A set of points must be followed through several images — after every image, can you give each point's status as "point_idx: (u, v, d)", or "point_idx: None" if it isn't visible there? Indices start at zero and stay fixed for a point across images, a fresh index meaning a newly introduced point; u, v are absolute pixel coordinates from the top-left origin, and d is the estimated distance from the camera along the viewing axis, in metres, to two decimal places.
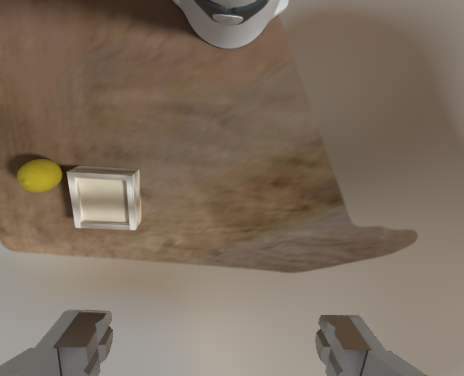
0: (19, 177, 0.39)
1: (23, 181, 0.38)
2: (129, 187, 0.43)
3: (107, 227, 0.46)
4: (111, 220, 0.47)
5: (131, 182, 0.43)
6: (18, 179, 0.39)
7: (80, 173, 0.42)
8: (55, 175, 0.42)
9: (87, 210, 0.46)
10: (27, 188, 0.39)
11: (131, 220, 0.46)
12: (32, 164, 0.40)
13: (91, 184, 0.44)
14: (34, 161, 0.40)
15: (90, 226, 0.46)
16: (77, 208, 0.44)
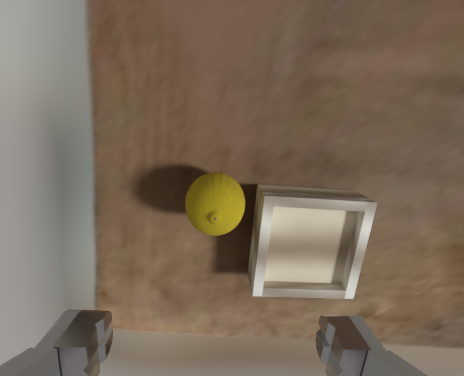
0: (203, 208, 0.19)
1: (215, 215, 0.19)
2: (366, 223, 0.24)
3: (307, 294, 0.26)
4: (307, 281, 0.27)
5: (372, 214, 0.24)
6: (198, 211, 0.19)
7: (287, 199, 0.23)
8: None
9: (272, 264, 0.26)
10: (211, 229, 0.20)
11: (352, 282, 0.26)
12: (220, 182, 0.20)
13: (291, 218, 0.24)
14: (216, 176, 0.21)
15: (279, 293, 0.25)
16: (265, 262, 0.24)
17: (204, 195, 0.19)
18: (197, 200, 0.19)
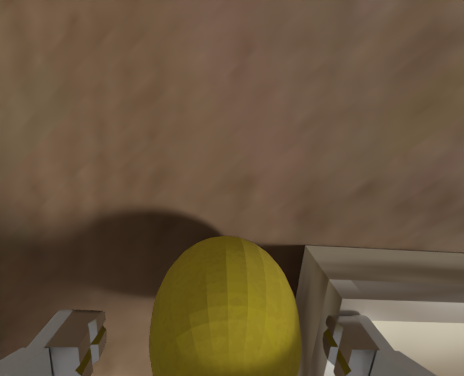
0: None
1: None
2: None
3: None
4: None
5: None
6: None
7: (394, 305, 0.10)
8: None
9: None
10: None
11: None
12: (242, 291, 0.07)
13: (385, 328, 0.11)
14: (230, 264, 0.08)
15: None
16: None
17: (197, 347, 0.06)
18: (176, 359, 0.06)
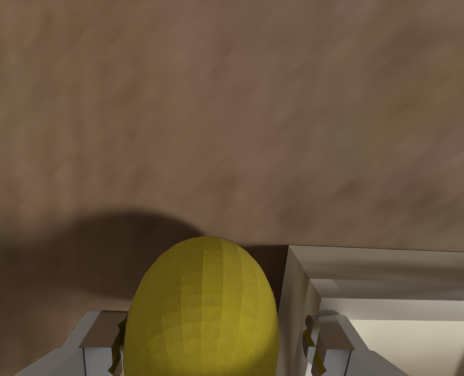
0: None
1: None
2: None
3: None
4: None
5: None
6: None
7: (373, 303, 0.10)
8: None
9: None
10: None
11: None
12: (217, 292, 0.07)
13: (367, 327, 0.11)
14: (206, 264, 0.08)
15: None
16: None
17: (168, 350, 0.06)
18: (147, 363, 0.06)
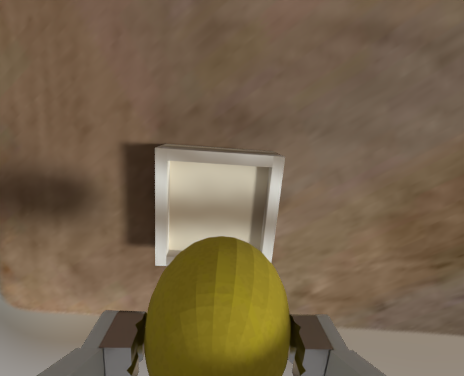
0: (177, 374, 0.07)
1: None
2: (275, 181, 0.21)
3: None
4: None
5: (281, 171, 0.21)
6: None
7: (181, 152, 0.20)
8: (289, 316, 0.09)
9: (179, 230, 0.23)
10: None
11: (266, 249, 0.23)
12: (229, 282, 0.08)
13: (195, 177, 0.22)
14: (221, 258, 0.09)
15: None
16: (165, 226, 0.22)
17: (183, 329, 0.07)
18: (164, 341, 0.07)
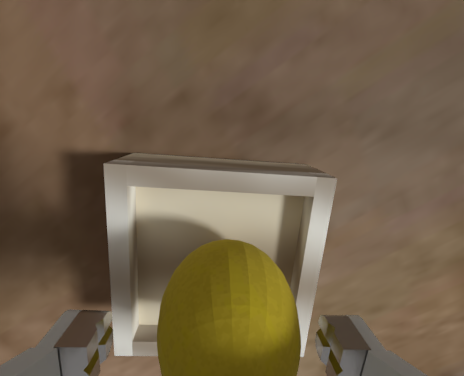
0: None
1: None
2: (318, 220, 0.12)
3: None
4: None
5: (329, 202, 0.12)
6: None
7: (153, 171, 0.11)
8: None
9: (154, 295, 0.14)
10: None
11: None
12: (244, 292, 0.08)
13: (179, 211, 0.13)
14: (232, 266, 0.09)
15: None
16: (128, 295, 0.13)
17: (203, 344, 0.07)
18: (183, 355, 0.07)
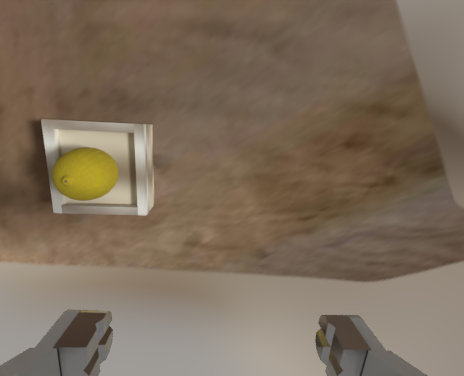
0: (57, 174, 0.22)
1: (65, 178, 0.22)
2: (138, 144, 0.28)
3: (103, 211, 0.30)
4: (109, 202, 0.31)
5: (141, 135, 0.28)
6: (55, 177, 0.23)
7: (61, 122, 0.27)
8: (112, 172, 0.25)
9: None
10: (69, 192, 0.23)
11: (140, 199, 0.30)
12: (79, 152, 0.23)
13: (80, 143, 0.29)
14: (81, 149, 0.24)
15: (77, 209, 0.29)
16: None
17: (60, 162, 0.23)
18: (55, 167, 0.23)
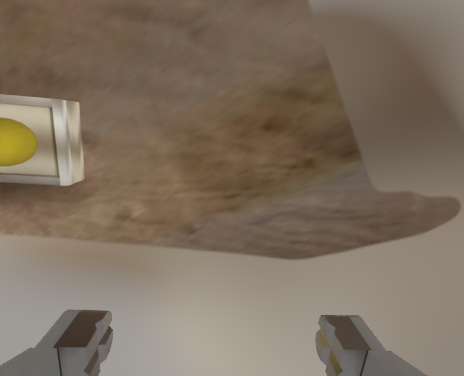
0: None
1: None
2: (57, 118, 0.30)
3: (27, 181, 0.32)
4: (35, 173, 0.33)
5: (59, 110, 0.30)
6: None
7: None
8: (24, 142, 0.28)
9: None
10: None
11: (62, 170, 0.32)
12: None
13: (4, 116, 0.31)
14: None
15: (2, 178, 0.32)
16: None
17: None
18: None
